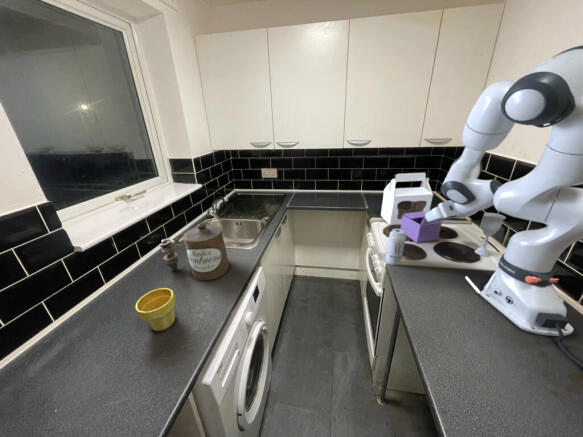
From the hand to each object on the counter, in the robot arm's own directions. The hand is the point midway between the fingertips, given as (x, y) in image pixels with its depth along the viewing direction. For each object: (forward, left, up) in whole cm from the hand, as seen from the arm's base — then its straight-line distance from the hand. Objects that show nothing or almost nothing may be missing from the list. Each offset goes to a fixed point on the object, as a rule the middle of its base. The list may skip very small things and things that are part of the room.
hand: (436, 219), depth 106 cm
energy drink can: (-16, +22, -13) cm, 31 cm away
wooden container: (-25, +100, -13) cm, 104 cm away
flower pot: (-53, +104, -13) cm, 118 cm away
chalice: (-7, -19, -13) cm, 24 cm away
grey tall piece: (-26, +116, -13) cm, 120 cm away
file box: (+9, +2, -13) cm, 16 cm away
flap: (+2, 0, 0) cm, 2 cm away
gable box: (+29, +3, -13) cm, 32 cm away
